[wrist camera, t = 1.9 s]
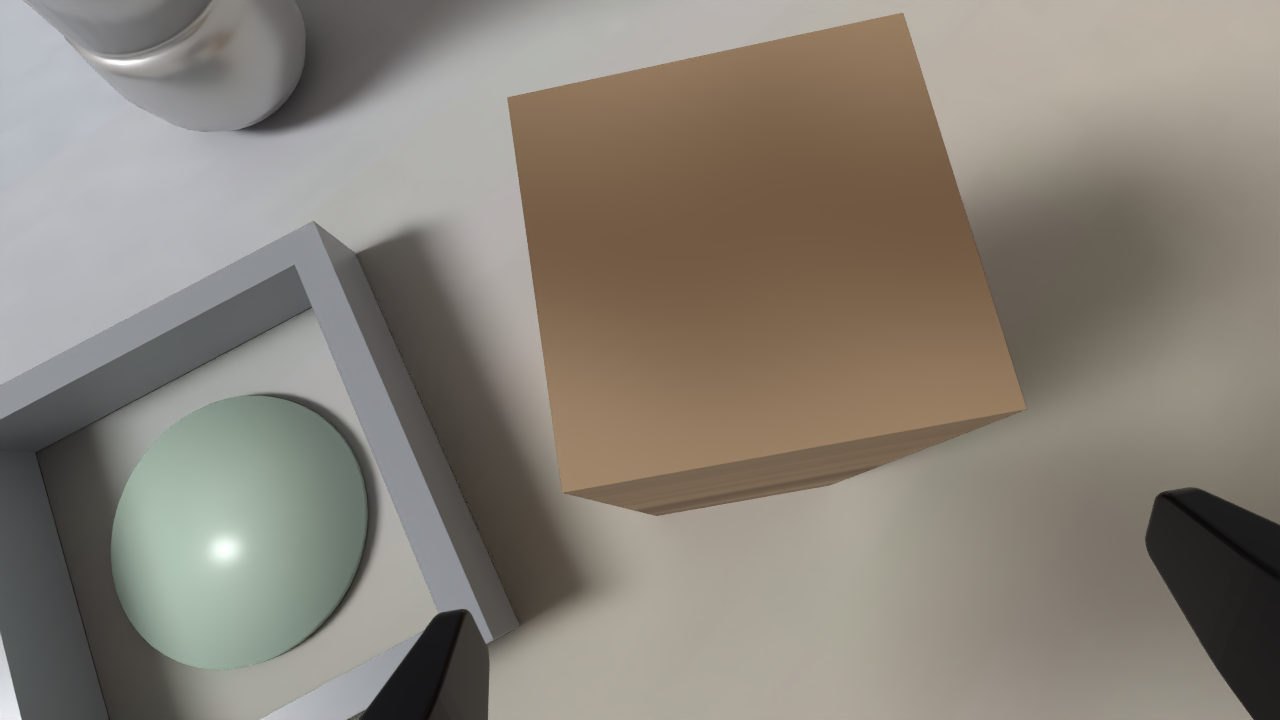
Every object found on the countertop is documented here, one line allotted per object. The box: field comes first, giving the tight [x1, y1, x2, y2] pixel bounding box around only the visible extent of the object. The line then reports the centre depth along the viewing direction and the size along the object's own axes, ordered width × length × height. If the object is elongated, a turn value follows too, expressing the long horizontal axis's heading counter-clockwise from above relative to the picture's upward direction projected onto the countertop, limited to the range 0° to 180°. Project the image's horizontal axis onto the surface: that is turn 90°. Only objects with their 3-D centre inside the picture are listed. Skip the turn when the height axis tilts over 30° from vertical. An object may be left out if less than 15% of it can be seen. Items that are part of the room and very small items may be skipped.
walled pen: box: [0, 221, 520, 720], centre depth 20 cm, size 13×13×2 cm
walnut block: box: [508, 13, 1027, 516], centre depth 14 cm, size 5×5×13 cm
